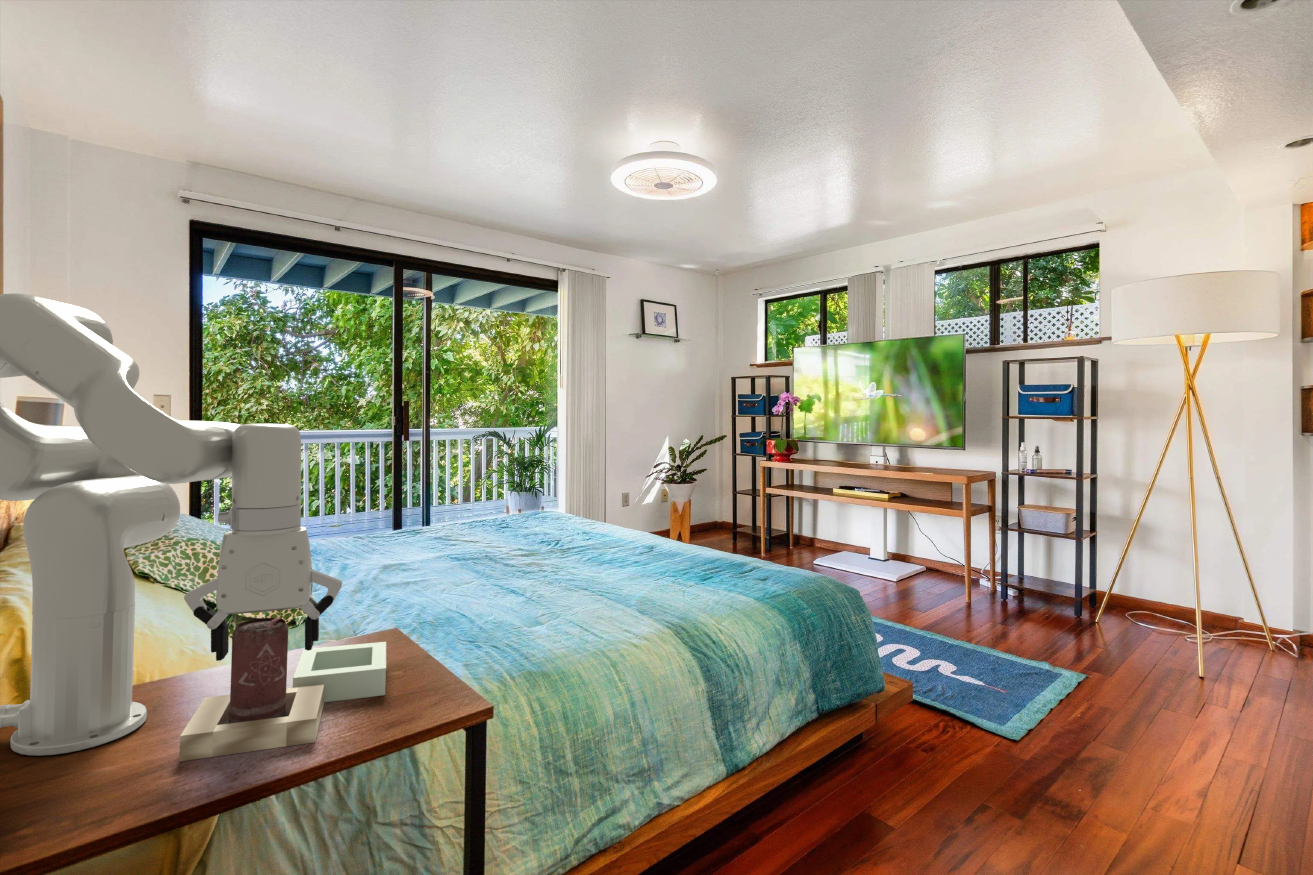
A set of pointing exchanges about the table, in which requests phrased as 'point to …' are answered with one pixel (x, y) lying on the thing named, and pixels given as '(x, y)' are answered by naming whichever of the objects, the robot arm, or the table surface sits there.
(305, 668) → the pale green square frame
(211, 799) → the table surface
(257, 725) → the socket block
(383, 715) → the table surface
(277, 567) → the robot arm
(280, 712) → the can
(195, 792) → the table surface
